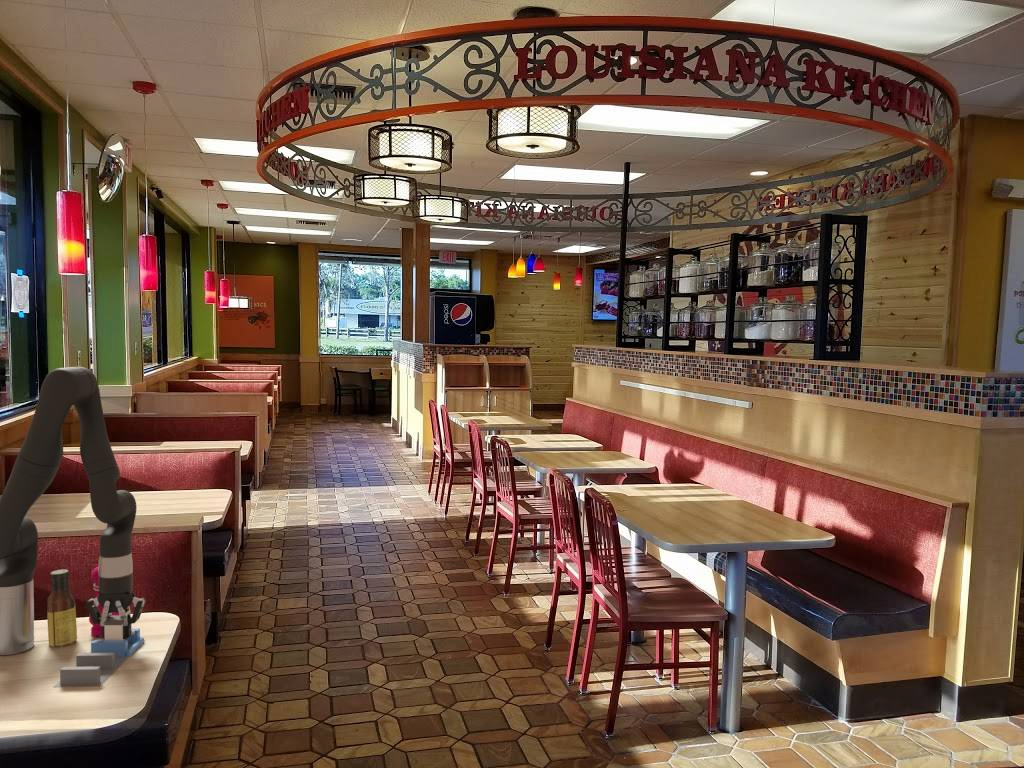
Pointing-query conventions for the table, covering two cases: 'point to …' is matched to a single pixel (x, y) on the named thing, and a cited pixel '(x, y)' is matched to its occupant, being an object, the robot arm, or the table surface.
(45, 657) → the table surface
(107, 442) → the robot arm
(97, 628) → the pepper mill
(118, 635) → the grey block
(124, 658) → the grey fixture board
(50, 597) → the sauce bottle
